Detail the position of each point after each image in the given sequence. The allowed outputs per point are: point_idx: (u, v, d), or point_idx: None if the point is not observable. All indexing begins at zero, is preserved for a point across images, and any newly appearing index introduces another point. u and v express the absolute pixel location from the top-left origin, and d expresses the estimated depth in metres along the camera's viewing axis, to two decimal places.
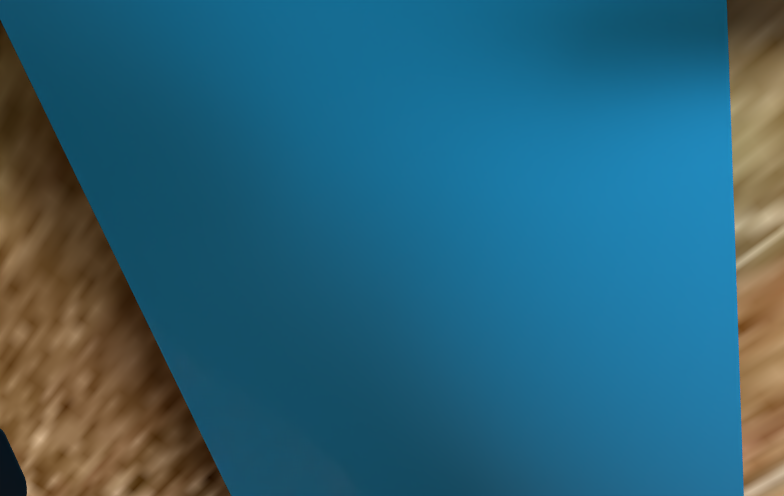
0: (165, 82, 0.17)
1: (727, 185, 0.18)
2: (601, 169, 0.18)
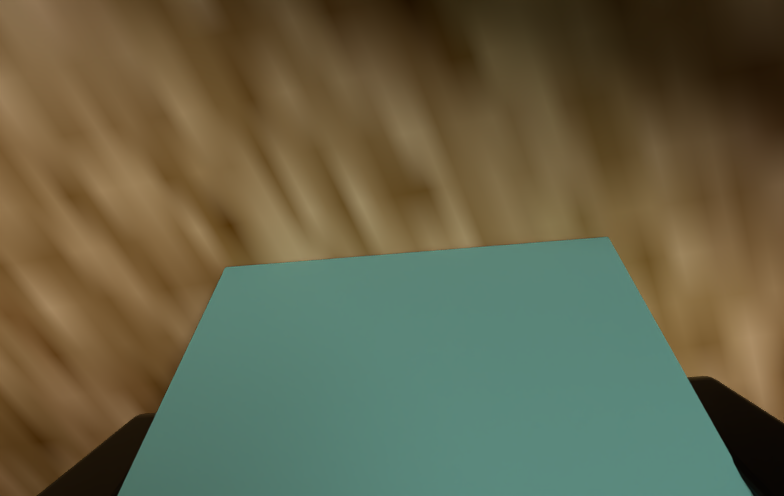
0: None
1: None
2: None
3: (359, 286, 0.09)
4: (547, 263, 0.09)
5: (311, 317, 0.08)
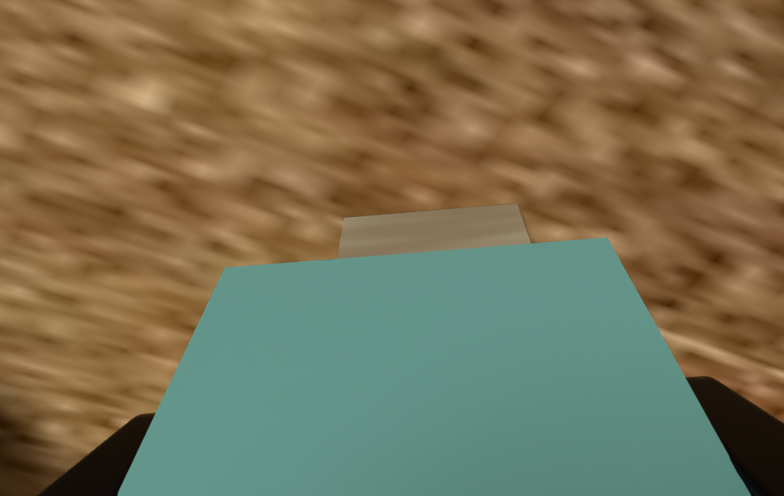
0: None
1: None
2: None
3: (358, 286, 0.09)
4: (546, 264, 0.09)
5: (310, 317, 0.08)
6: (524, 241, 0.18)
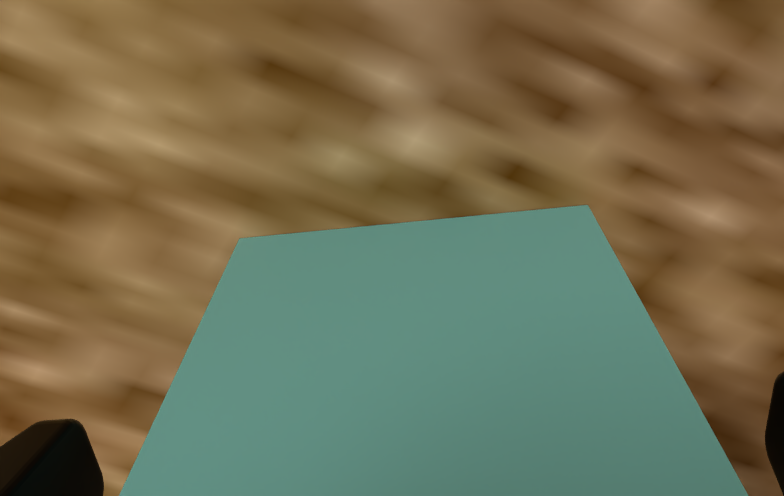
0: None
1: None
2: None
3: (361, 251, 0.10)
4: (531, 228, 0.10)
5: (318, 277, 0.09)
6: None
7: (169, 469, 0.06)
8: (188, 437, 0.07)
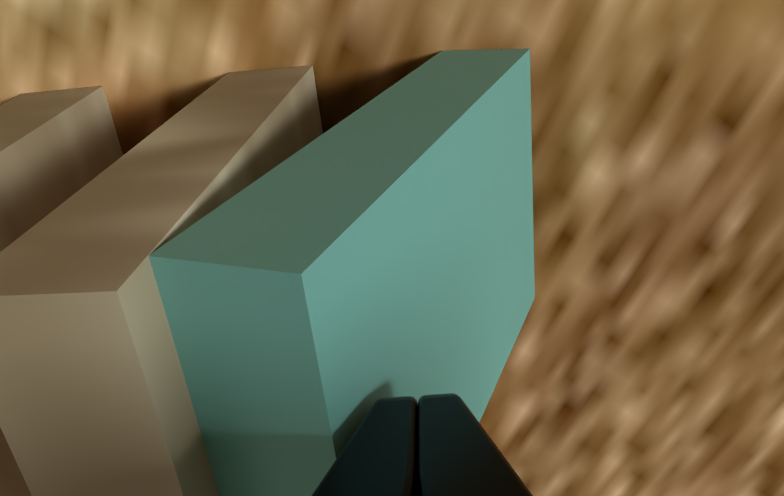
0: None
1: None
2: None
3: (521, 165, 0.12)
4: (527, 274, 0.14)
5: (511, 149, 0.12)
6: None
7: (443, 164, 0.09)
8: (454, 157, 0.09)
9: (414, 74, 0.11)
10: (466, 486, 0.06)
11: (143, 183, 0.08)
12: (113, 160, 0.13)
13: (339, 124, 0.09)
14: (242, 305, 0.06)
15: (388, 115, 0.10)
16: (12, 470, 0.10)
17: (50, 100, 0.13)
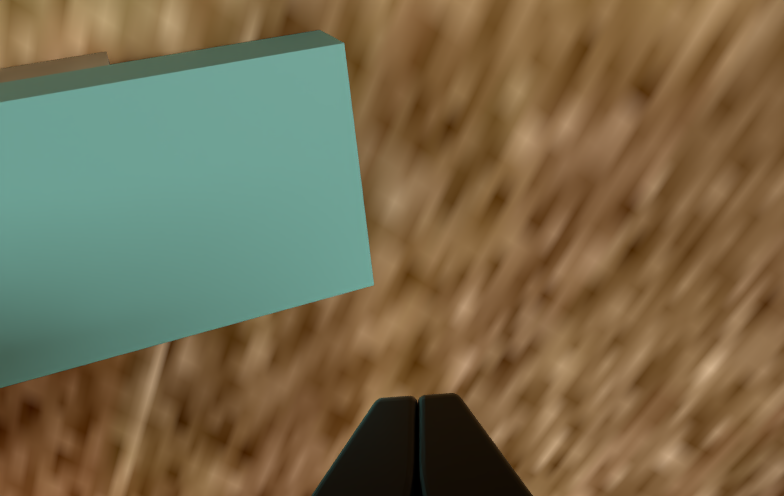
0: None
1: None
2: None
3: (316, 150, 0.13)
4: (343, 255, 0.14)
5: (280, 130, 0.13)
6: None
7: (77, 112, 0.11)
8: (104, 111, 0.12)
9: (236, 44, 0.13)
10: (466, 486, 0.06)
11: None
12: None
13: (94, 67, 0.13)
14: None
15: (119, 69, 0.12)
16: None
17: None
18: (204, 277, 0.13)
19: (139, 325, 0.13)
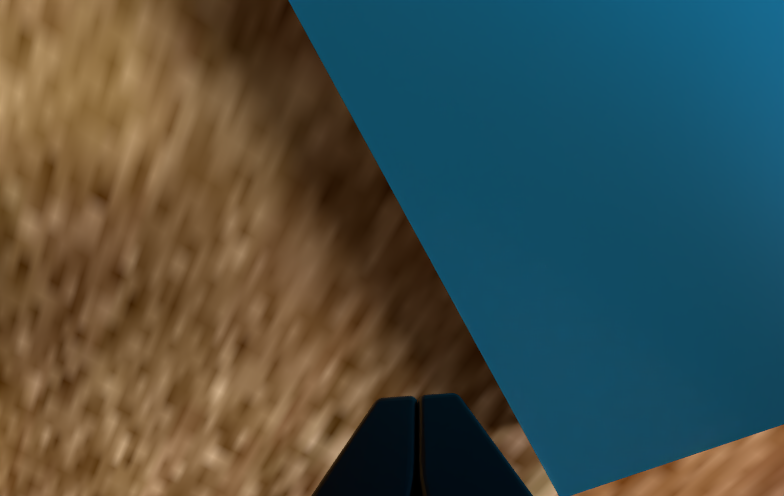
0: None
1: None
2: None
3: None
4: None
5: None
6: None
7: None
8: None
9: None
10: (466, 486, 0.06)
11: None
12: None
13: None
14: None
15: None
16: None
17: None
18: None
19: None
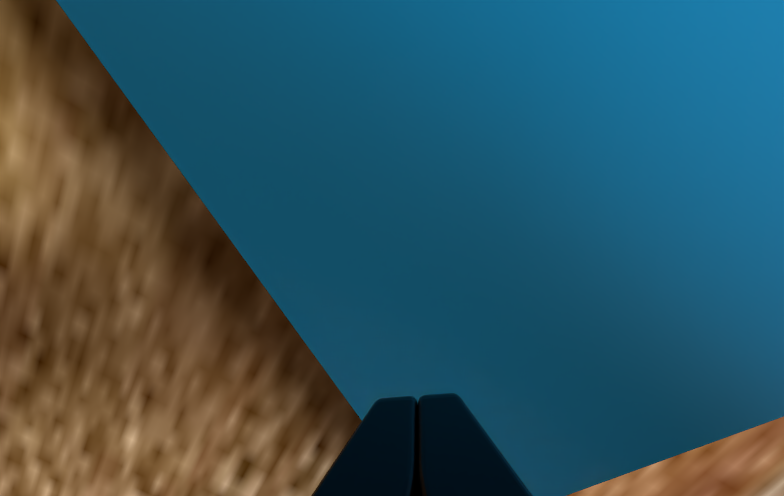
0: None
1: None
2: None
3: None
4: None
5: None
6: None
7: None
8: None
9: None
10: (466, 486, 0.06)
11: None
12: None
13: None
14: None
15: None
16: None
17: None
18: None
19: None
